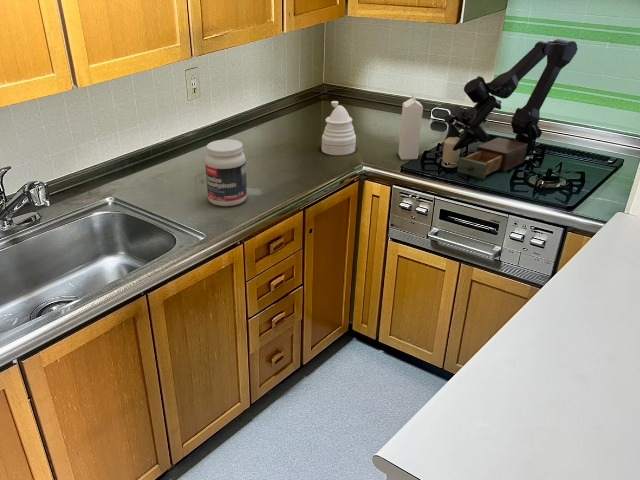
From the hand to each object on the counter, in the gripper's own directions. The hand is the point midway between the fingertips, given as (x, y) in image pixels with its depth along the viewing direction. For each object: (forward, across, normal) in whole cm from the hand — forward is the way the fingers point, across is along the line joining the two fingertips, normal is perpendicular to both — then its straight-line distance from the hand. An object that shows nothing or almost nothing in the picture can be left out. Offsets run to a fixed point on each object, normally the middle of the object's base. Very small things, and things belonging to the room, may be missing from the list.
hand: (448, 147), depth 217 cm
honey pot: (+23, -33, -14) cm, 42 cm away
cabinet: (-8, +6, +17) cm, 20 cm away
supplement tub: (+61, -4, -52) cm, 80 cm away
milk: (+10, -14, 0) cm, 17 cm away
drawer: (0, +11, +8) cm, 13 cm away
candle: (+4, 0, +6) cm, 7 cm away
